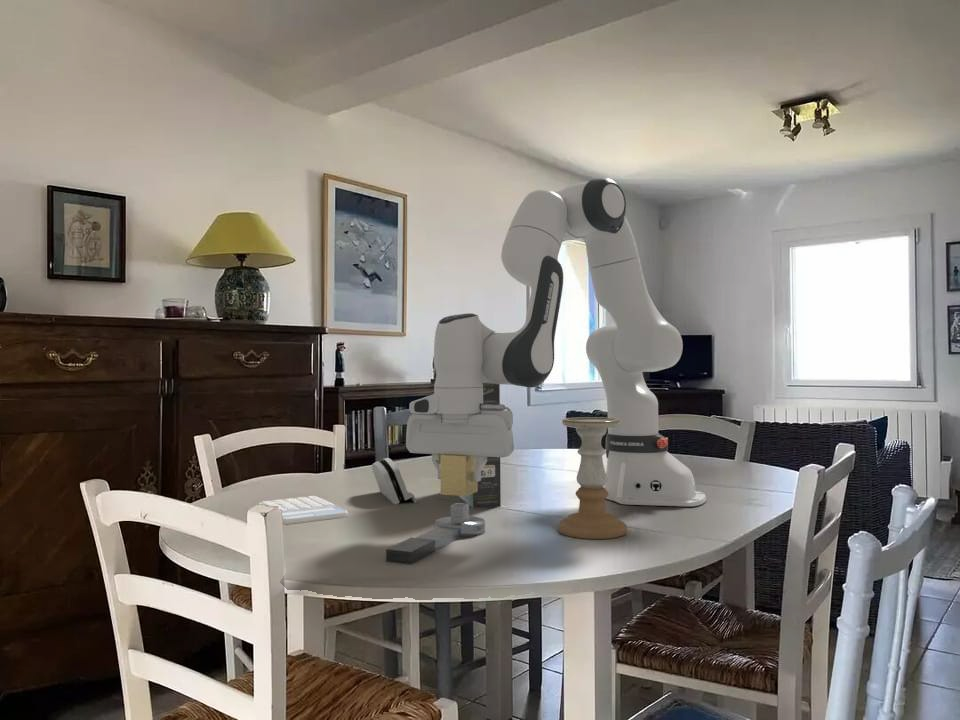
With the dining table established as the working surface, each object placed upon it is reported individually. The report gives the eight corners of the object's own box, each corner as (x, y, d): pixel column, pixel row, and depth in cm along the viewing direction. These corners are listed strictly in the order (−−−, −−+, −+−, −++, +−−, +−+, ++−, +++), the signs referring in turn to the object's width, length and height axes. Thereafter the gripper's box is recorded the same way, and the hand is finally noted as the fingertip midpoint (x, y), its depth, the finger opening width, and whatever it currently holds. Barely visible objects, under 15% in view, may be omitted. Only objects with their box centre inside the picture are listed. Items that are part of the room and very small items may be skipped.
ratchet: (448, 525, 138) (448, 498, 138) (492, 529, 135) (492, 501, 135) (373, 560, 114) (373, 528, 114) (424, 566, 110) (424, 533, 110)
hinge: (417, 502, 160) (401, 460, 159) (397, 511, 158) (381, 468, 157) (400, 490, 176) (386, 451, 175) (382, 498, 174) (367, 459, 173)
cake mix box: (500, 506, 155) (499, 364, 155) (472, 507, 154) (471, 364, 154) (476, 489, 176) (475, 364, 176) (452, 490, 175) (450, 364, 175)
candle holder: (627, 525, 136) (626, 416, 136) (627, 541, 124) (625, 422, 124) (561, 522, 139) (560, 416, 139) (554, 538, 127) (553, 421, 127)
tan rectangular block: (477, 491, 133) (477, 453, 133) (466, 496, 129) (465, 456, 129) (452, 489, 135) (452, 451, 135) (440, 494, 131) (440, 455, 131)
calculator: (317, 503, 163) (317, 494, 163) (350, 519, 146) (350, 509, 146) (256, 509, 156) (256, 500, 156) (283, 527, 139) (283, 517, 139)
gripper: (518, 403, 131) (519, 480, 131) (418, 401, 139) (418, 474, 139) (505, 405, 125) (506, 486, 125) (401, 403, 133) (402, 479, 133)
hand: (459, 480), depth 132 cm, fingers closed on tan rectangular block, 5 cm apart
